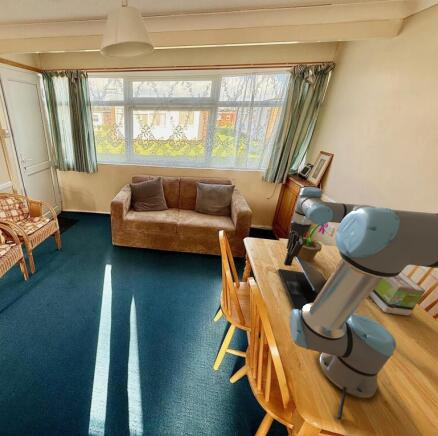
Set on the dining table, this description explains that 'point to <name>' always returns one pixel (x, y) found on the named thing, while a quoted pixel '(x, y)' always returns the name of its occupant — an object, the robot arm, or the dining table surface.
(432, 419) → the dining table surface
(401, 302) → the tea box
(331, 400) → the dining table surface
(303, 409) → the dining table surface
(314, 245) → the flowerpot
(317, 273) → the laptop screen
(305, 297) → the laptop
